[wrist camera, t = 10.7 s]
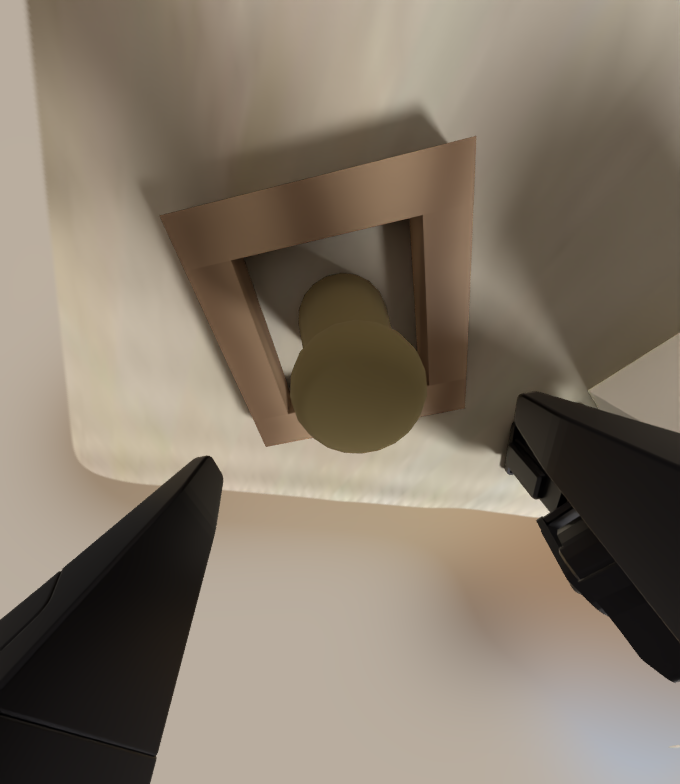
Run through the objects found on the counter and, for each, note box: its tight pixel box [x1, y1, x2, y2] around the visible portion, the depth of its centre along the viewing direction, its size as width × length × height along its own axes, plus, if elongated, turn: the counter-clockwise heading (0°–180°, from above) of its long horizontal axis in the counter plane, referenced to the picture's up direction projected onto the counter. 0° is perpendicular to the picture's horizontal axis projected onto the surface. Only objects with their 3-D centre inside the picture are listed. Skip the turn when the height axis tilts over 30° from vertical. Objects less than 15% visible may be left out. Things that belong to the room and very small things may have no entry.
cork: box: [290, 273, 427, 453], centre depth 14 cm, size 6×6×11 cm
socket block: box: [160, 136, 476, 447], centre depth 17 cm, size 15×15×2 cm
